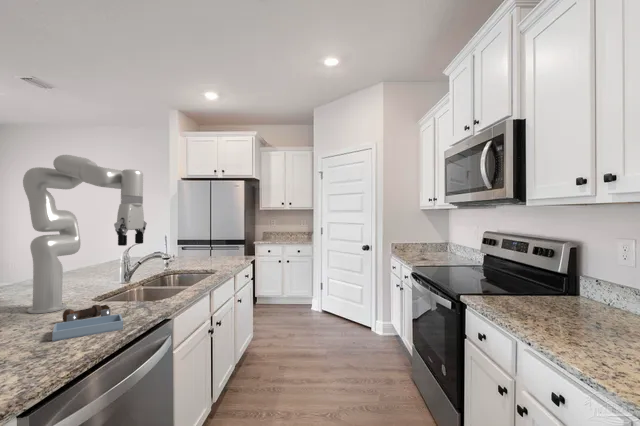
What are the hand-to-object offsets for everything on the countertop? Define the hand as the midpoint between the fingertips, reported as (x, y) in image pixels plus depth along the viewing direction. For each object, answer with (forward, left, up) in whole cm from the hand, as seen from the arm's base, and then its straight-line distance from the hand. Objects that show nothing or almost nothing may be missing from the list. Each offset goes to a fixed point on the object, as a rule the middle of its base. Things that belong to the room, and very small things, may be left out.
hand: (131, 244), depth 126 cm
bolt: (-9, -13, -29) cm, 33 cm away
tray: (+8, -13, -29) cm, 33 cm away
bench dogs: (+1, -13, -29) cm, 32 cm away
